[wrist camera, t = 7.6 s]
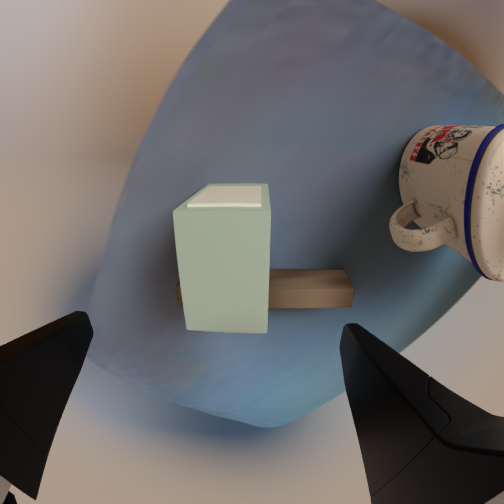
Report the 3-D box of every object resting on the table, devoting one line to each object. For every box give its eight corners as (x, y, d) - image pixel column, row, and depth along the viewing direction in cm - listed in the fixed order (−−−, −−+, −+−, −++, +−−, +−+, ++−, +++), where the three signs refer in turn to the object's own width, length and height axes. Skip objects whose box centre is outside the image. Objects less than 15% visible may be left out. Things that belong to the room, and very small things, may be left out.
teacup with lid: (459, 110, 15) (570, 115, 4) (483, 209, 18) (576, 260, 7) (341, 157, 17) (442, 182, 7) (381, 266, 20) (457, 367, 9)
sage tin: (267, 181, 18) (270, 207, 11) (266, 266, 21) (266, 335, 13) (208, 182, 18) (172, 208, 11) (212, 265, 21) (187, 331, 13)
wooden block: (343, 269, 20) (354, 288, 18) (340, 288, 21) (350, 308, 18) (186, 267, 21) (175, 286, 18) (188, 286, 21) (178, 306, 19)
